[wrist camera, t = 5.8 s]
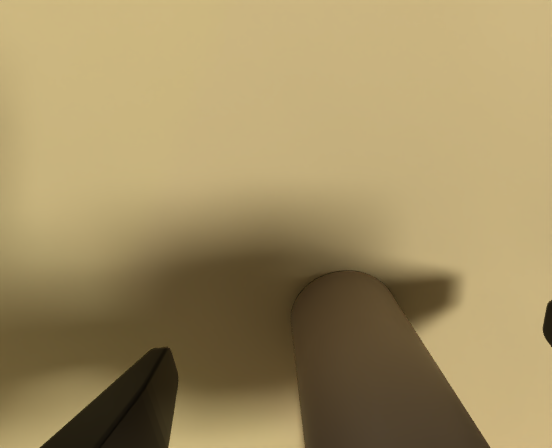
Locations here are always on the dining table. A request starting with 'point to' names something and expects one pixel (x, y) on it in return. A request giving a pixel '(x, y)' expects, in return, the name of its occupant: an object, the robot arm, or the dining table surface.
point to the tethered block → (370, 372)
